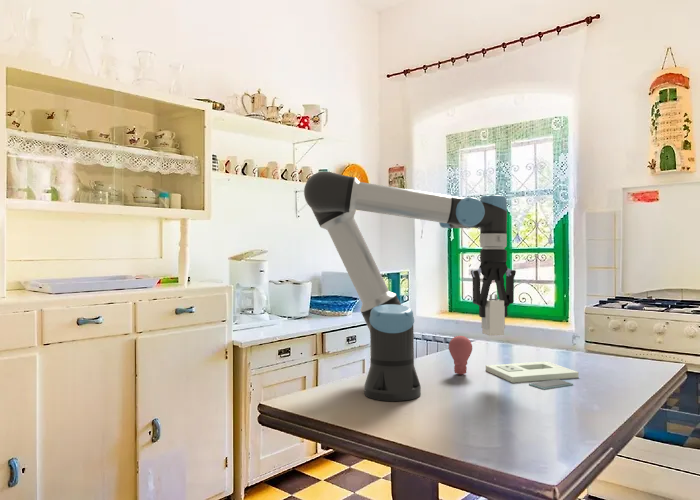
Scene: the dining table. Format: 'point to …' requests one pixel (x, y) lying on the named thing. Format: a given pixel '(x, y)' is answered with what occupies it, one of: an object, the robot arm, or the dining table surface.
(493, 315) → the charger
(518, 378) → the outlet plate
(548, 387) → the phone
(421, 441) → the dining table surface
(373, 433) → the dining table surface
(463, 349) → the light bulb
